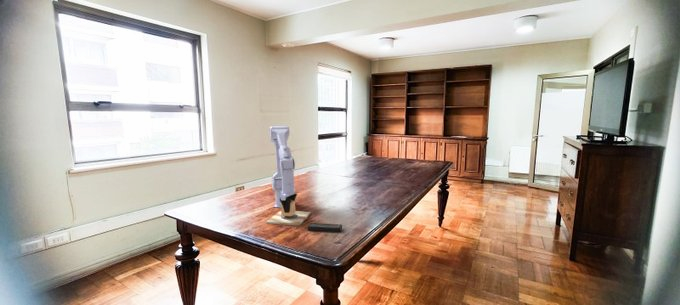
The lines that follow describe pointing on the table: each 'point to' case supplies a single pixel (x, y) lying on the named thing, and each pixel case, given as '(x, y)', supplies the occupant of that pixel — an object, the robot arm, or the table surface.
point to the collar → (292, 209)
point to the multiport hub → (325, 227)
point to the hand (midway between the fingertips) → (289, 210)
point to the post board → (289, 218)
